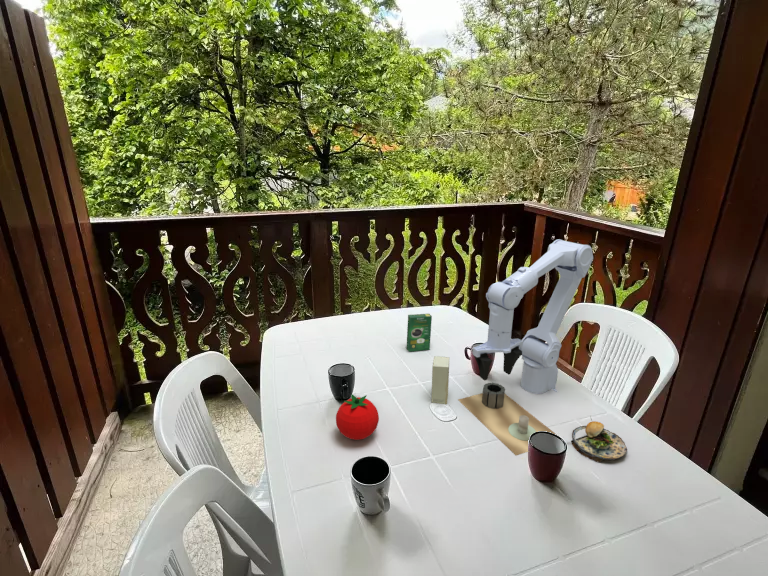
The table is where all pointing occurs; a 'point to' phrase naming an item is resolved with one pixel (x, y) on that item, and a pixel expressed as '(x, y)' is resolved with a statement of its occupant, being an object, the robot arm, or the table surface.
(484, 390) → the ring
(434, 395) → the skincare box
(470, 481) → the table surface
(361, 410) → the tomato
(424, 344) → the coffee box
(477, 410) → the board
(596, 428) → the burger
